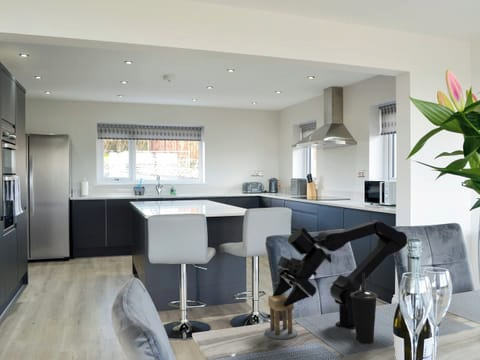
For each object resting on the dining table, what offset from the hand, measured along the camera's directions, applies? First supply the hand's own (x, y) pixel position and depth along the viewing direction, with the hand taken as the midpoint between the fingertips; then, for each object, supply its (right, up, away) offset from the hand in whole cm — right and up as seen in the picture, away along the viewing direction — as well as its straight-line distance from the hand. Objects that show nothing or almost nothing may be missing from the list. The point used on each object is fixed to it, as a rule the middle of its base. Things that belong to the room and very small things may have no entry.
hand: (278, 301), depth 131 cm
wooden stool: (+1, -9, 0) cm, 9 cm away
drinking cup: (+25, -10, -7) cm, 28 cm away
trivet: (+1, -10, 0) cm, 10 cm away
